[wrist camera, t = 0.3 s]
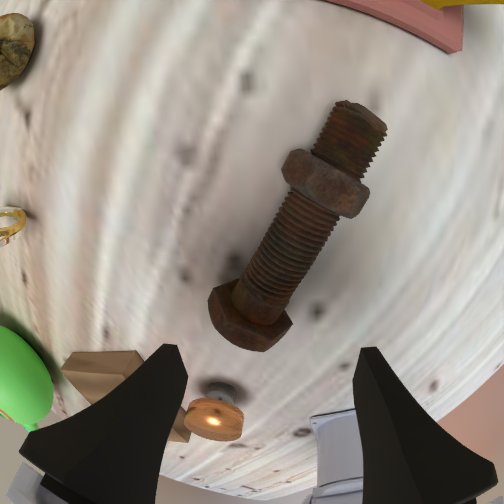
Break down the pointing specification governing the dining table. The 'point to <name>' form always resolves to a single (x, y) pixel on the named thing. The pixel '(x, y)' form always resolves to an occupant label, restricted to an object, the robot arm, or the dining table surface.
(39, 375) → the toy bird
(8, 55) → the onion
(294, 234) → the bolt
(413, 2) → the yellow mantel clock
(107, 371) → the block
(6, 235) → the ring
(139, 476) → the robot arm
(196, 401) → the orange short cylinder
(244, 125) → the dining table surface
